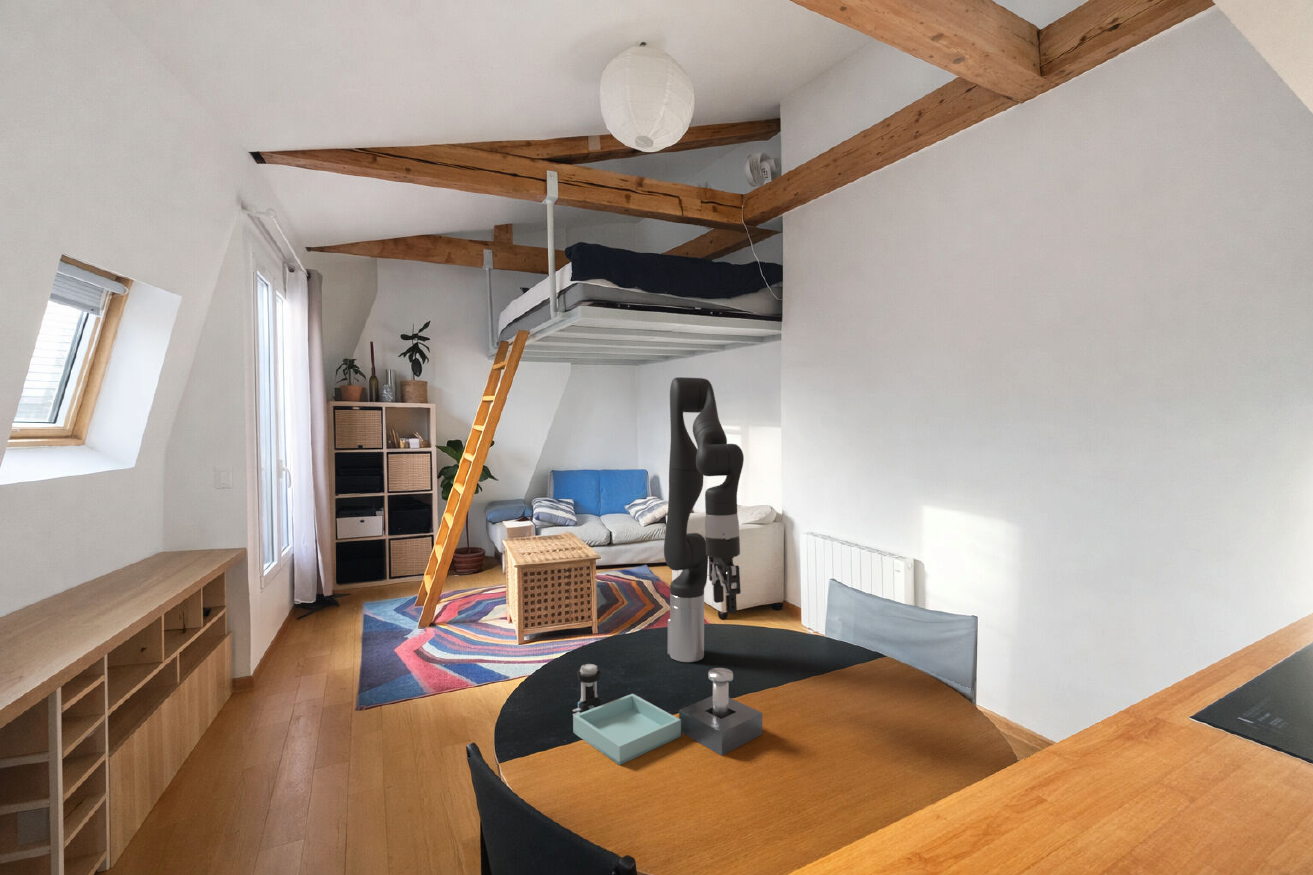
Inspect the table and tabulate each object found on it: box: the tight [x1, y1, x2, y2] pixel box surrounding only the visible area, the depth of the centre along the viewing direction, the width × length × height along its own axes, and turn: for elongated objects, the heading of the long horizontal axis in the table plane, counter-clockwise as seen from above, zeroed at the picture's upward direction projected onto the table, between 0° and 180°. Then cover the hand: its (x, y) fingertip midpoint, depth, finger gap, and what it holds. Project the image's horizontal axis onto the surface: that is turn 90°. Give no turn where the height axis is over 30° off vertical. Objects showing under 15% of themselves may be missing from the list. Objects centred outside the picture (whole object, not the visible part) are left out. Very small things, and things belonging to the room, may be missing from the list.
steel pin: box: [707, 667, 734, 719], centre depth 125 cm, size 5×5×12 cm
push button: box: [572, 663, 602, 717], centre depth 134 cm, size 7×5×10 cm
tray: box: [572, 693, 682, 766], centre depth 125 cm, size 16×16×4 cm
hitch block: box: [678, 695, 763, 756], centre depth 125 cm, size 12×12×4 cm
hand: (724, 607), depth 136 cm, fingers open, 8 cm apart
